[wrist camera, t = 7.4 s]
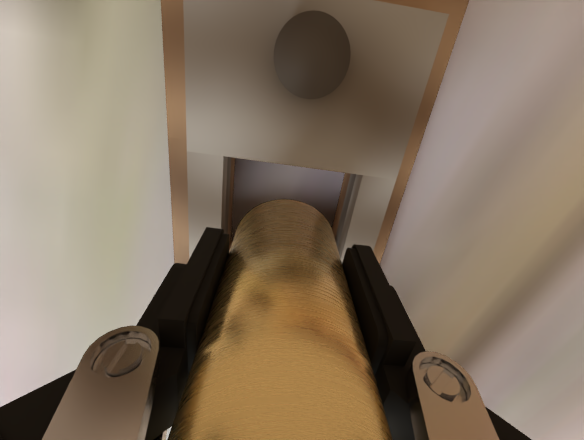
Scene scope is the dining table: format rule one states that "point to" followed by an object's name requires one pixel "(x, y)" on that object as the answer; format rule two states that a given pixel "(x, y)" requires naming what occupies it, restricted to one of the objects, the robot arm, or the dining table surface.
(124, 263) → the dining table surface
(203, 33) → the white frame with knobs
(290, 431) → the pin
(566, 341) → the dining table surface
